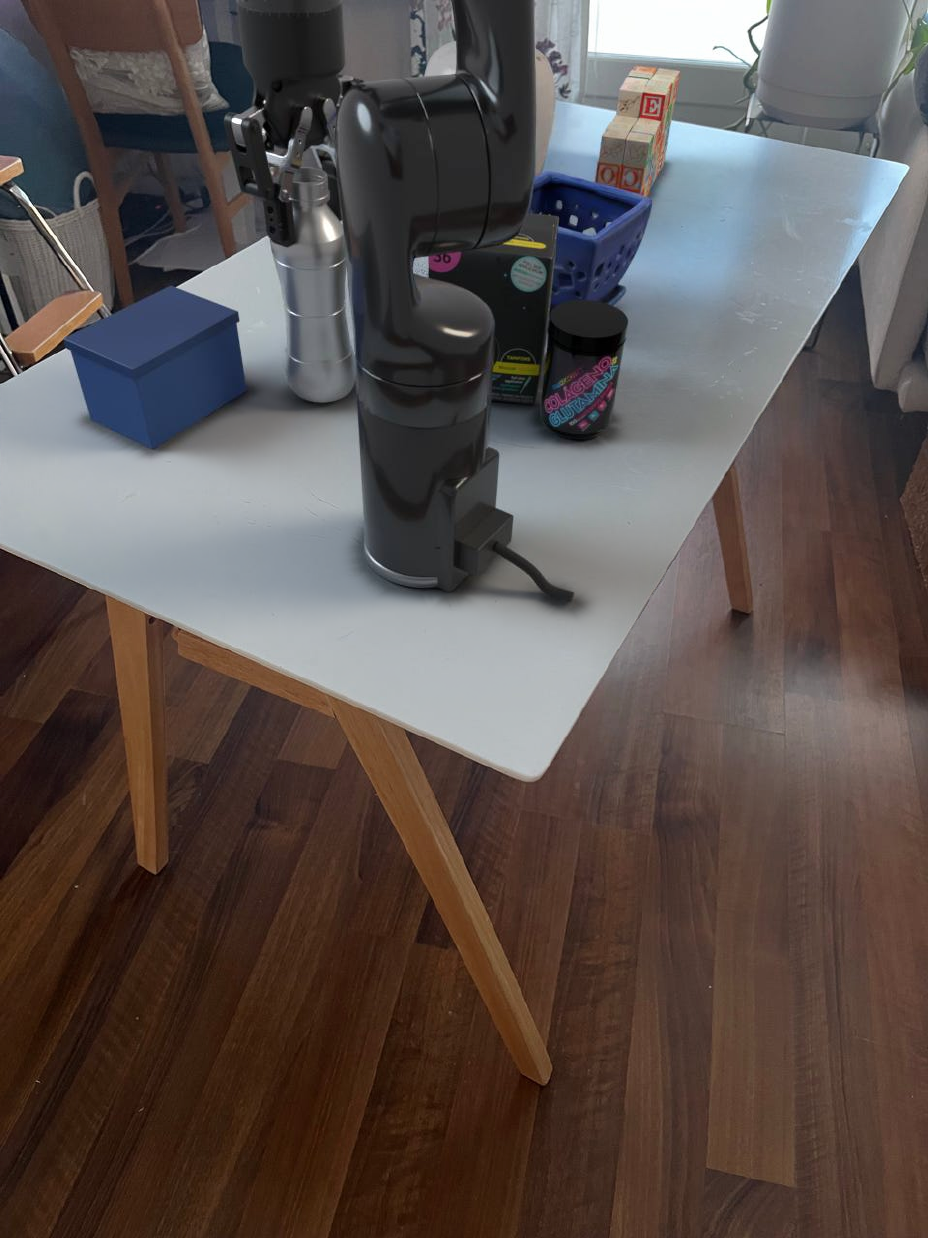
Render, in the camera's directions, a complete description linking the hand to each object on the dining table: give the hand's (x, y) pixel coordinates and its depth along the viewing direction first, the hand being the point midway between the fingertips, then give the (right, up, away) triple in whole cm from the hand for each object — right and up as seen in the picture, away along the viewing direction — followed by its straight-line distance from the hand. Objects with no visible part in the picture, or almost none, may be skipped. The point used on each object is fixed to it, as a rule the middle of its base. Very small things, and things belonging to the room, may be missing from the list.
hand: (308, 230), depth 78 cm
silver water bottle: (-1, -11, +11) cm, 16 cm away
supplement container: (+23, -14, +9) cm, 29 cm away
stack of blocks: (+36, +27, +51) cm, 68 cm away
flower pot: (+23, +1, +24) cm, 34 cm away
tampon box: (+15, -9, +14) cm, 23 cm away
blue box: (-14, -13, +9) cm, 21 cm away
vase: (+15, +18, +41) cm, 48 cm away
